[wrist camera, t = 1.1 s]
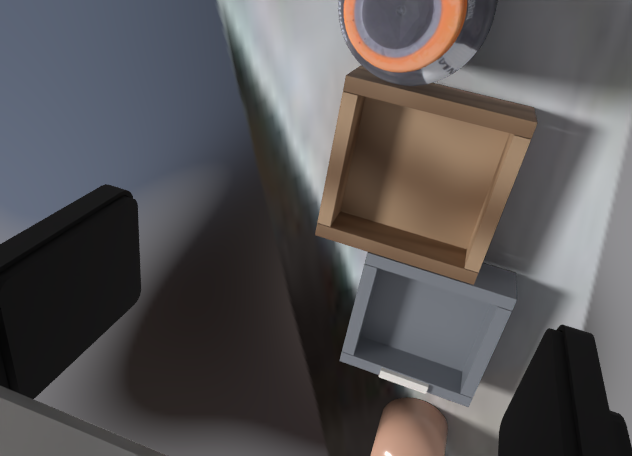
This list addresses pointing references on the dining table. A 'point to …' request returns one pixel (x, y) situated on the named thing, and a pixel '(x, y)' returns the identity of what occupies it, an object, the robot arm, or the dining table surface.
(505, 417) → the robot arm
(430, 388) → the gray square open tray
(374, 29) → the pill bottle
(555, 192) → the dining table surface
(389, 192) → the brown wooden open tray
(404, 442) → the peach rounded capsule
